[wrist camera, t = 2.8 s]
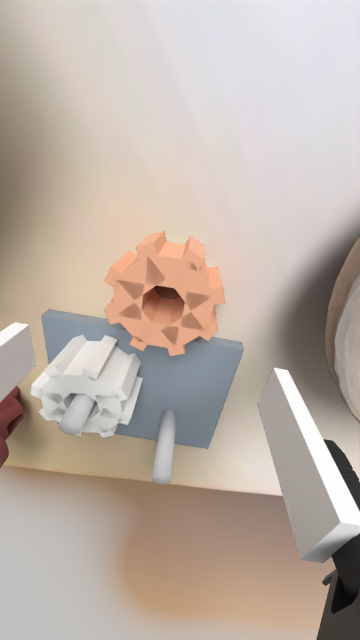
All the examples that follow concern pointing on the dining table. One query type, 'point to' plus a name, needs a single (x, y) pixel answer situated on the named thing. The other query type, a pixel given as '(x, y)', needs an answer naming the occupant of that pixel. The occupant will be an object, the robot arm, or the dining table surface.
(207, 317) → the terracotta gear
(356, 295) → the bowl
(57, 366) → the white gear
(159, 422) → the gear board
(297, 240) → the dining table surface
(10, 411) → the mechanical component
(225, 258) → the dining table surface
